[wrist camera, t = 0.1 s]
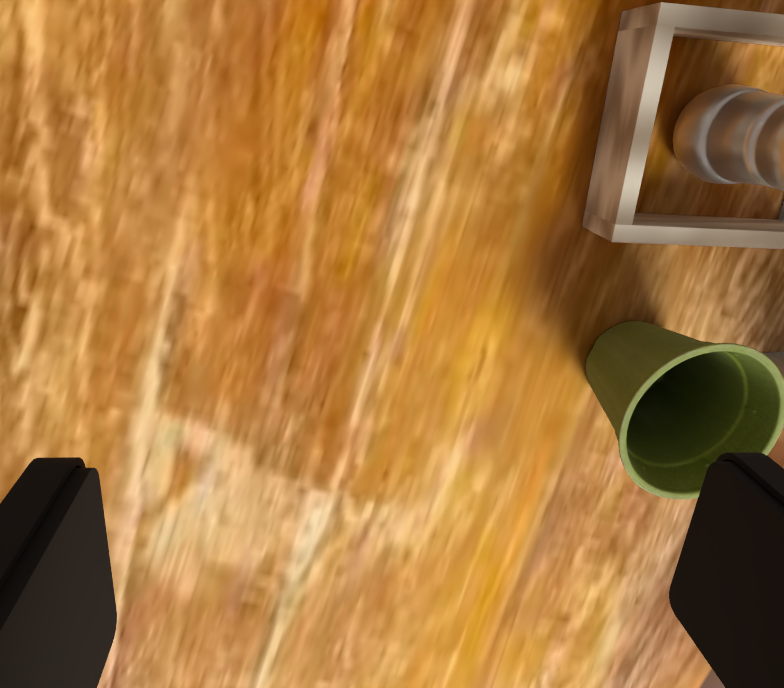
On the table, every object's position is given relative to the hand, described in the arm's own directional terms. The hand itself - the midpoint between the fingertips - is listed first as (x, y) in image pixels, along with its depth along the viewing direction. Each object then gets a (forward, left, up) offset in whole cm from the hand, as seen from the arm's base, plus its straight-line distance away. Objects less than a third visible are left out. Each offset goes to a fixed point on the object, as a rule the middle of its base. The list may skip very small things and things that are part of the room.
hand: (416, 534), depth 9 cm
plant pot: (+13, +25, -37) cm, 46 cm away
